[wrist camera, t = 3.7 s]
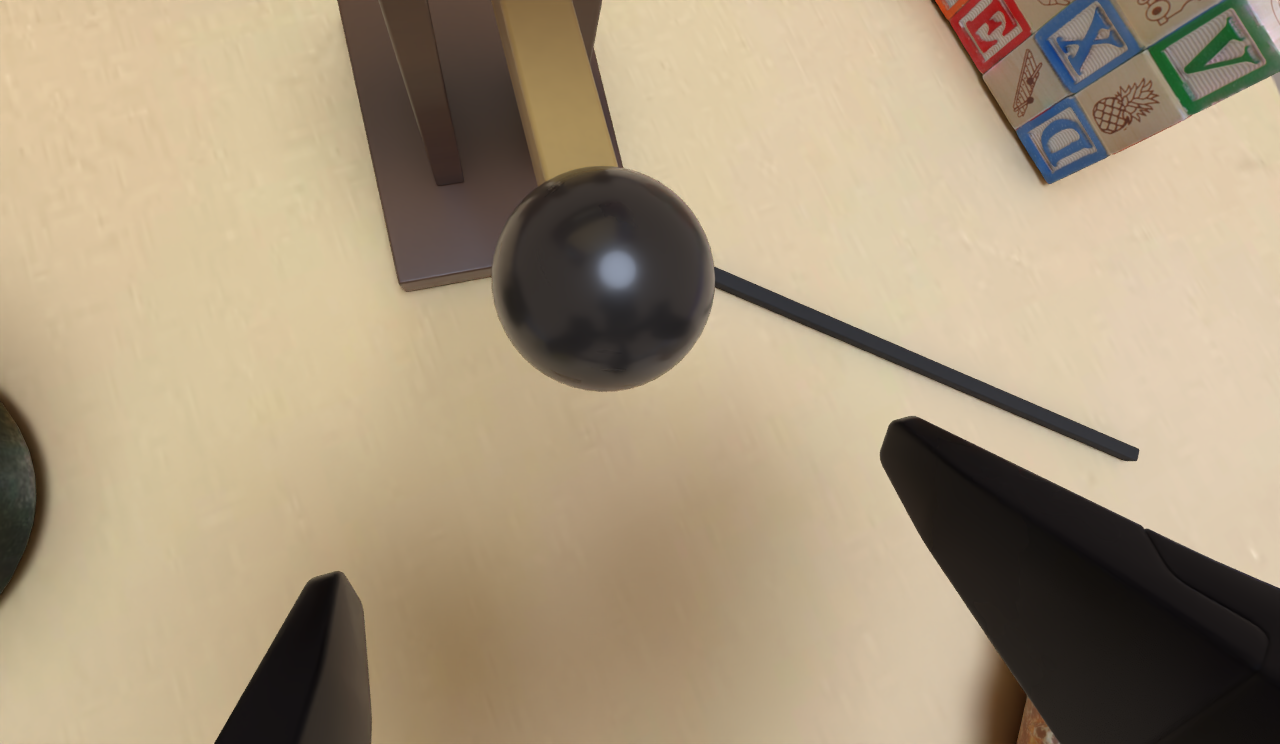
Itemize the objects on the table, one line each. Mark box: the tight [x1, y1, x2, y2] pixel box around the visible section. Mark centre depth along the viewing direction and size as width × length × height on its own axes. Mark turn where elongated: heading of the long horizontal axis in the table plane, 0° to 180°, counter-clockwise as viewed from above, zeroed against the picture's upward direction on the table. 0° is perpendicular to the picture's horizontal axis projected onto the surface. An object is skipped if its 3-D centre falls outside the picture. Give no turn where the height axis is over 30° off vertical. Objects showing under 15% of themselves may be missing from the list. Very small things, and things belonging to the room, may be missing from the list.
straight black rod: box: [714, 267, 1139, 461], centre depth 26 cm, size 25×1×1 cm, turn 70°
